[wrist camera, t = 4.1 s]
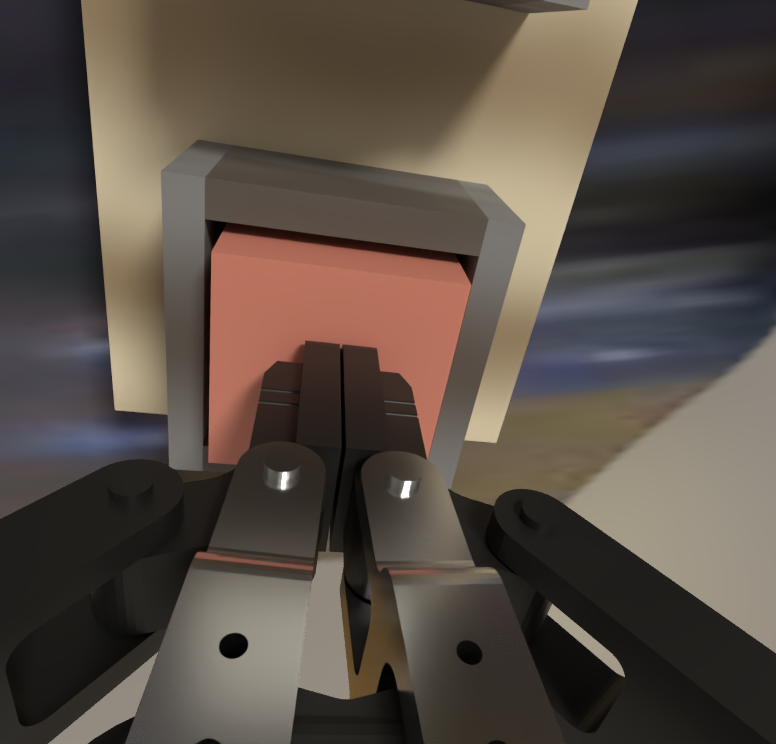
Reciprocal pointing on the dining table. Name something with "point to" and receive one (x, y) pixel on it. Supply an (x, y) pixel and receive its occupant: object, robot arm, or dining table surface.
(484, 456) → the dining table surface
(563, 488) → the dining table surface
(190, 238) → the key panel
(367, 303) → the red key
